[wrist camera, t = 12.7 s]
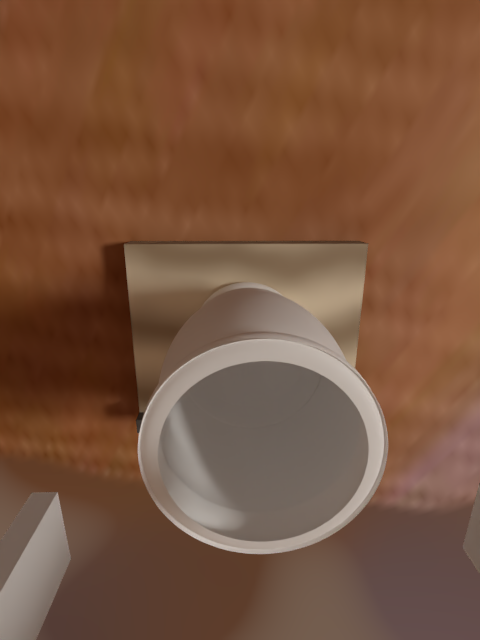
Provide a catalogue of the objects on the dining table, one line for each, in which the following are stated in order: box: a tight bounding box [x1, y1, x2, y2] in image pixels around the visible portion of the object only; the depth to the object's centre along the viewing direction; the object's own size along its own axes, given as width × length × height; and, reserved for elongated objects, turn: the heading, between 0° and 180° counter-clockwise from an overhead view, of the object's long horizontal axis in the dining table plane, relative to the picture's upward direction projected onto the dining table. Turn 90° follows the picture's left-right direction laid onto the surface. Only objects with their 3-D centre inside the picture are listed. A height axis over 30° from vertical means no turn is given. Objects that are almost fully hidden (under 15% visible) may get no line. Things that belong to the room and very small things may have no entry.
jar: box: [138, 282, 388, 554], centre depth 22 cm, size 11×10×15 cm
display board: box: [124, 241, 368, 433], centre depth 30 cm, size 15×18×3 cm
